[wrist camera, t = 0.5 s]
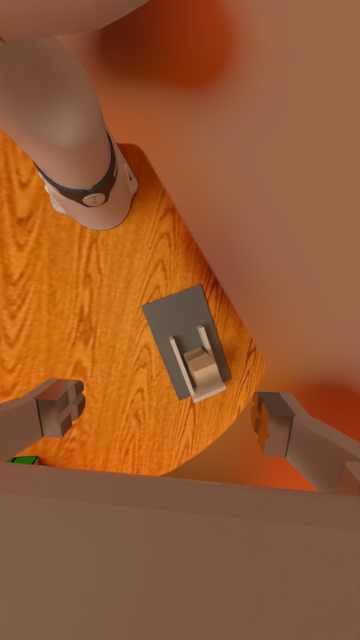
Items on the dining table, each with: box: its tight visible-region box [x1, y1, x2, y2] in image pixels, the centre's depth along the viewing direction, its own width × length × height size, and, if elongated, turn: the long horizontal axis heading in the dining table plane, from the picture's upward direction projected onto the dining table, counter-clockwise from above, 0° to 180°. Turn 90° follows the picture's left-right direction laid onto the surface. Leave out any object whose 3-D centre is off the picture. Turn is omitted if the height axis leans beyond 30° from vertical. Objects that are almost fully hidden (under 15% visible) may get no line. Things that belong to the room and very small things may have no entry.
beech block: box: [183, 347, 223, 393], centre depth 44 cm, size 5×5×12 cm
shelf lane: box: [142, 284, 231, 403], centre depth 47 cm, size 28×16×6 cm, turn 20°
